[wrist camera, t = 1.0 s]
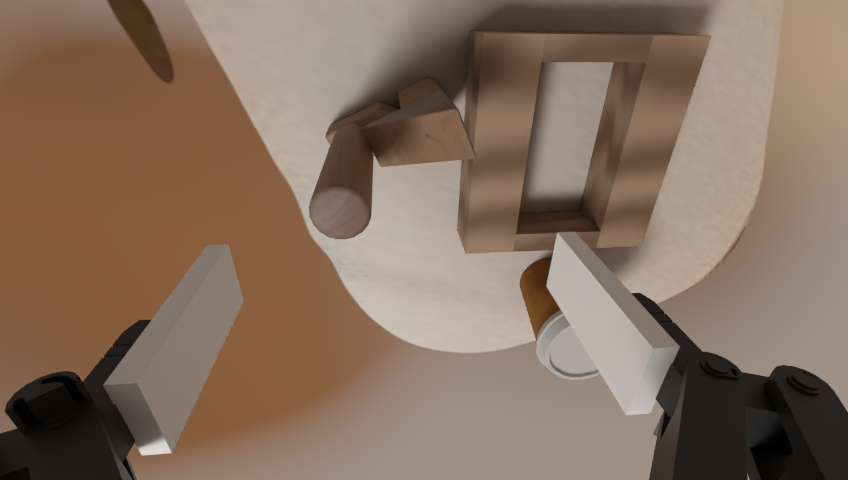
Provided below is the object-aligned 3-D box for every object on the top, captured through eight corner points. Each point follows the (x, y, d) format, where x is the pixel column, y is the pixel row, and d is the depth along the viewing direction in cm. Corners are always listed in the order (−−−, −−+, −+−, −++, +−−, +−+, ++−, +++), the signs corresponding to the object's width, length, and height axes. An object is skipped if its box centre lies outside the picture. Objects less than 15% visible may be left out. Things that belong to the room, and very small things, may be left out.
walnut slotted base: (470, 30, 35) (483, 33, 31) (672, 33, 37) (711, 35, 32) (457, 230, 45) (465, 253, 40) (616, 224, 47) (640, 246, 42)
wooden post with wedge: (445, 111, 38) (492, 179, 23) (347, 158, 39) (327, 253, 24) (431, 74, 36) (470, 120, 21) (328, 124, 38) (292, 203, 22)
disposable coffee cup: (510, 316, 52) (543, 391, 42) (503, 257, 47) (538, 325, 37) (581, 299, 52) (632, 371, 42) (581, 238, 47) (638, 302, 37)
